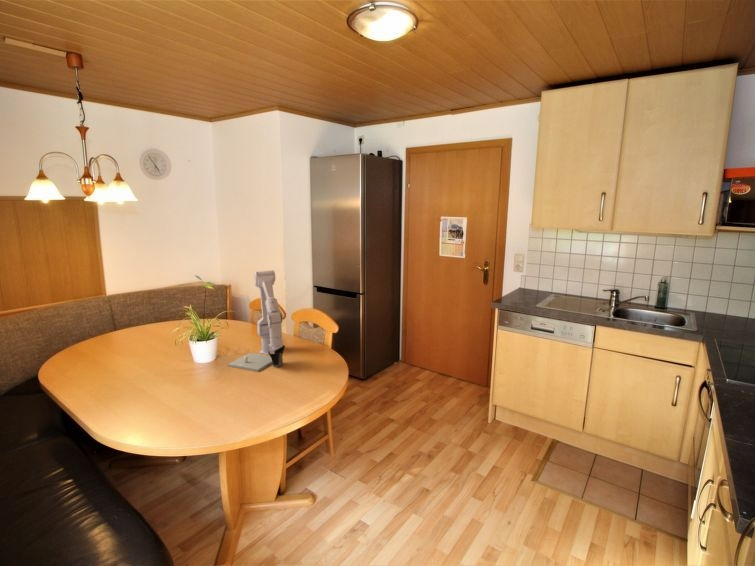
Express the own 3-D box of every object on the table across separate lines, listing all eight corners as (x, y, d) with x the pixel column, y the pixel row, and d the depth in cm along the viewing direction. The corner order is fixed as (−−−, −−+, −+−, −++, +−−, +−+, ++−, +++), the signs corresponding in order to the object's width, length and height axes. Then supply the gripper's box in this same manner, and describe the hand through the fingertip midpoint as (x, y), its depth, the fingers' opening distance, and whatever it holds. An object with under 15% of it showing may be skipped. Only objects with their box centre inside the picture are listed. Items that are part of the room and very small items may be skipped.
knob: (276, 362, 208) (276, 351, 206) (284, 364, 206) (283, 352, 204) (271, 366, 203) (270, 354, 202) (278, 367, 202) (278, 355, 200)
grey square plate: (249, 354, 218) (249, 347, 218) (278, 359, 211) (278, 351, 211) (228, 366, 204) (227, 358, 203) (257, 371, 197) (257, 363, 196)
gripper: (272, 331, 209) (274, 356, 212) (262, 341, 195) (264, 368, 197) (286, 331, 208) (288, 357, 211) (277, 341, 194) (279, 368, 197)
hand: (277, 362), depth 204 cm, fingers closed on knob, 5 cm apart
